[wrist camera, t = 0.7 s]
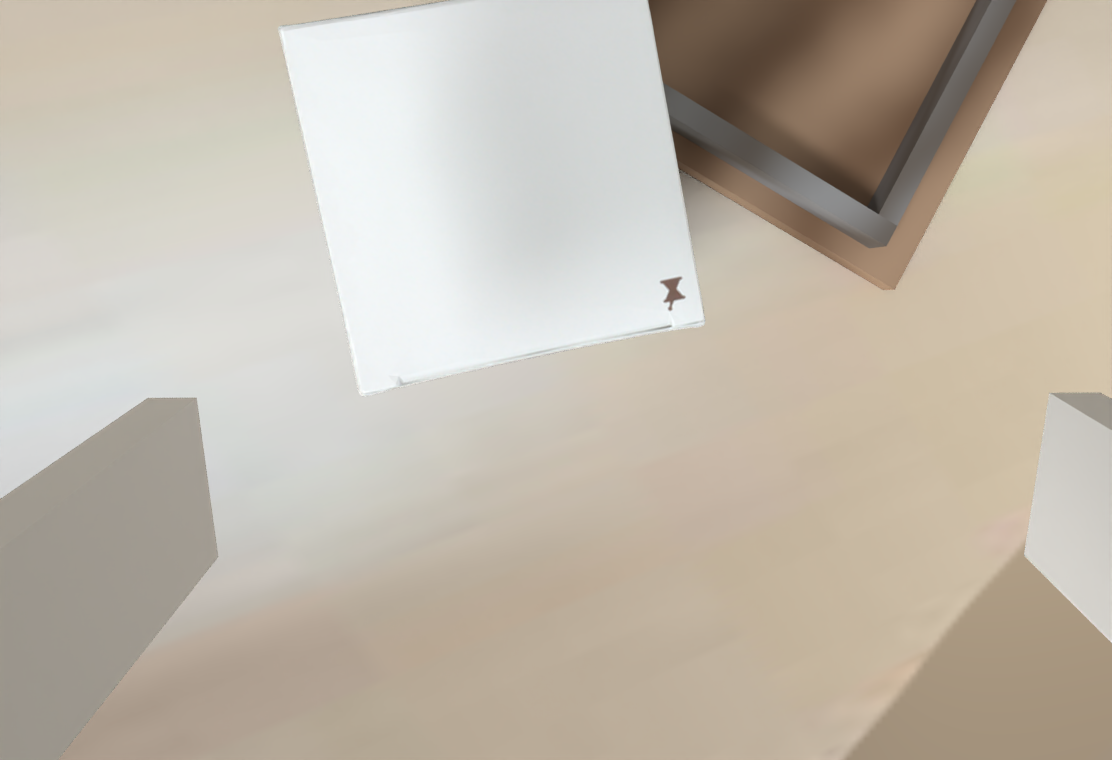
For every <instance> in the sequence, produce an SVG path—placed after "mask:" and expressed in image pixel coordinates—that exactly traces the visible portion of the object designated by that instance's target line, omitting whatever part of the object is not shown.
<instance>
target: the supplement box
mask: <svg viewBox="0 0 1112 760" xmlns="http://www.w3.org/2000/svg"><path fill="white" fill-rule="evenodd" d="M278 31H279V35H280V39H281V44H282V48H283V52H284V56H285V61H286V65H287V70H288V75H289V79H290V84H291V89H292V94H293V98H294V103H295V108H296V112H297V117H298V121H299V126H300V130H301V135H302V139H303V144H304V148H305V153H306V157H307V162H308V166H309V171H310V175H311V180H312V184H313V189H314V193H315V198H316V202H317V206H318V211H319V215H320V220H321V224H322V229H323V233H324V237H325V242H326V246H327V251H328V255H329V260H330V264H331V269H332V273H333V278H334V282H335V287H336V292H337V296H338V301H339V305H340V310H341V314H342V319H343V323H344V328H345V332H346V337H347V341H348V346H349V350H350V355H351V360H352V365H353V369H354V374H355V379H356V384H357V389H358V392H359V393H360V395H361V396H363V397H365V396H371V395H375V394H378V393H382V392H385V391H389V390H393V389H397V388H401V387H405V386H410V385H414V384H418V383H422V382H427V381H431V380H435V379H440V378H444V377H449V376H453V375H458V374H462V373H466V372H471V371H475V370H480V369H484V368H489V367H493V366H498V365H502V364H507V363H512V362H517V361H521V360H526V359H531V358H535V357H540V356H545V355H549V354H554V353H559V352H563V351H568V350H573V349H577V348H582V347H587V346H593V345H598V344H603V343H608V342H613V341H618V340H623V339H628V338H633V337H638V336H643V335H649V334H655V333H661V332H667V331H673V330H679V329H685V328H694V327H700V326H703V325H704V324H705V316H704V310H703V304H702V298H701V292H700V287H699V281H698V275H697V270H696V264H695V259H694V253H693V247H692V242H691V236H690V231H689V225H688V220H687V214H686V209H685V203H684V197H683V192H682V186H681V181H680V175H679V170H678V164H677V159H676V153H675V148H674V142H673V137H672V131H671V125H670V120H669V114H668V109H667V103H666V98H665V92H664V87H663V81H662V75H661V70H660V64H659V59H658V53H657V47H656V42H655V36H654V30H653V25H652V19H651V14H650V9H649V4H648V0H448V1H442V2H435V3H429V4H422V5H416V6H409V7H403V8H397V9H390V10H384V11H378V12H372V13H365V14H359V15H353V16H346V17H340V18H334V19H327V20H321V21H314V22H308V23H301V24H295V25H283V26H280V27H279V28H278Z"/></svg>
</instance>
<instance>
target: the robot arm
mask: <svg viewBox="0 0 1112 760" xmlns="http://www.w3.org/2000/svg"><path fill="white" fill-rule="evenodd" d="M1024 556H1025V557H1026V558H1027V559H1028V560H1029V561H1030V562H1031V563H1032V564H1033V565H1034V566H1035V567H1036V568H1037V569H1038V570H1039V571H1040V572H1041V573H1042V574H1043V575H1044V576H1045V577H1046V578H1047V579H1048V580H1049V581H1050V582H1051V583H1052V584H1053V585H1054V586H1055V587H1056V588H1057V589H1058V590H1059V591H1060V592H1061V593H1062V594H1063V595H1064V596H1065V597H1066V598H1067V599H1068V600H1069V601H1070V602H1071V603H1072V604H1073V605H1074V606H1075V607H1076V608H1077V609H1078V610H1079V611H1080V612H1081V613H1082V614H1083V615H1084V616H1085V617H1086V618H1087V619H1088V620H1089V621H1090V622H1091V623H1092V624H1093V625H1094V626H1095V627H1096V628H1097V629H1098V630H1100V632H1101V633H1102V634H1103V635H1104V636H1105V637H1106V638H1107V639H1108V640H1109V641H1110V642H1111V643H1112V399H1111V398H1109V397H1108V396H1106V395H1104V394H1102V393H1049V399H1048V405H1047V412H1046V418H1045V424H1044V431H1043V437H1042V444H1041V450H1040V456H1039V463H1038V469H1037V476H1036V482H1035V488H1034V495H1033V501H1032V508H1031V514H1030V520H1029V527H1028V533H1027V540H1026V546H1025V552H1024ZM217 558H218V552H217V545H216V537H215V530H214V523H213V515H212V508H211V501H210V493H209V486H208V479H207V471H206V464H205V456H204V449H203V442H202V434H201V427H200V420H199V412H198V405H197V398H147V399H146V400H144V401H143V402H141V403H140V404H138V405H137V406H135V407H134V408H133V409H131V410H130V411H128V412H127V413H125V414H124V415H122V416H121V417H119V418H118V419H117V420H115V421H114V422H112V423H111V424H109V425H108V426H106V427H105V428H103V429H102V430H100V431H99V432H98V433H96V434H95V435H93V436H92V437H90V438H89V439H87V440H86V441H84V442H83V443H81V444H80V445H79V446H77V447H76V448H74V449H73V450H71V451H70V452H68V453H67V454H65V455H64V456H62V457H61V458H60V459H58V460H57V461H55V462H54V463H52V464H51V465H49V466H48V467H46V468H45V469H44V470H42V471H41V472H39V473H38V474H36V475H35V476H33V477H32V478H30V479H29V480H27V481H26V482H25V483H23V484H22V485H20V486H19V487H17V488H16V489H14V490H13V491H11V492H10V493H8V494H7V495H6V496H4V497H3V498H1V499H0V760H58V759H59V758H60V757H61V756H62V754H63V753H64V752H65V750H66V749H67V748H68V747H69V745H70V744H71V743H72V742H73V740H74V739H75V738H76V736H77V735H78V734H79V733H80V731H81V730H82V729H83V728H84V726H85V725H86V724H87V723H88V721H89V720H90V719H91V717H92V716H93V715H94V714H95V712H96V711H97V710H98V709H99V707H100V706H101V705H102V704H103V702H104V701H105V700H106V698H107V697H108V696H109V695H110V693H111V692H112V691H113V690H114V688H115V687H116V686H117V685H118V683H119V682H120V681H121V679H122V678H123V677H124V676H125V674H126V673H127V672H128V671H129V669H130V668H131V667H132V666H133V664H134V663H135V662H136V660H137V659H138V658H139V657H140V655H141V654H142V653H143V652H144V650H145V649H146V648H147V647H148V645H149V644H150V643H151V641H152V640H153V639H154V638H155V636H156V635H157V634H158V633H159V631H160V630H161V629H162V627H163V626H164V625H165V624H166V622H167V621H168V620H169V619H170V617H171V616H172V615H173V614H174V612H175V611H176V610H177V608H178V607H179V606H180V605H181V603H182V602H183V601H184V600H185V598H186V597H187V596H188V595H189V593H190V592H191V591H192V589H193V588H194V587H195V586H196V584H197V583H198V582H199V581H200V579H201V578H202V577H203V576H204V574H205V573H206V572H207V570H208V569H209V568H210V567H211V565H212V564H213V563H214V562H215V560H216V559H217Z"/></svg>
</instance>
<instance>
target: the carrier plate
mask: <svg viewBox="0 0 1112 760" xmlns="http://www.w3.org/2000/svg"><path fill="white" fill-rule="evenodd" d="M1046 1H1047V0H648V4H649V9H650V14H651V19H652V25H653V30H654V36H655V42H656V47H657V53H658V59H659V64H660V70H661V75H662V81H663V87H664V92H665V98H666V103H667V109H668V114H669V120H670V125H671V131H672V137H673V142H674V148H675V153H676V159H677V164H678V168H679V169H680V170H682V171H684V172H685V173H687V174H689V175H690V176H692V177H694V178H696V179H697V180H699V181H701V182H702V183H704V184H706V185H707V186H709V187H711V188H712V189H714V190H716V191H717V192H719V193H721V194H722V195H724V196H726V197H728V198H729V199H731V200H733V201H734V202H736V203H738V204H739V205H741V206H743V207H744V208H746V209H748V210H749V211H751V212H753V213H755V214H756V215H758V216H760V217H761V218H763V219H765V220H766V221H768V222H770V223H771V224H773V225H775V226H776V227H778V228H780V229H782V230H783V231H785V232H787V233H788V234H790V235H792V236H793V237H795V238H797V239H798V240H800V241H802V242H803V243H805V244H807V245H808V246H810V247H812V248H814V249H815V250H817V251H819V252H820V253H822V254H824V255H825V256H827V257H829V258H830V259H832V260H834V261H835V262H837V263H839V264H841V265H842V266H844V267H846V268H847V269H849V270H851V271H852V272H854V273H856V274H857V275H859V276H861V277H862V278H864V279H866V280H867V281H869V282H871V283H873V284H874V285H876V286H878V287H879V288H881V289H883V290H892V289H895V288H896V286H897V284H898V282H899V280H900V278H901V276H902V274H903V273H904V271H905V269H906V267H907V265H908V263H909V261H910V259H911V257H912V255H913V254H914V252H915V250H916V248H917V246H918V244H919V242H920V240H921V238H922V237H923V235H924V233H925V231H926V229H927V227H928V225H929V223H930V221H931V219H932V218H933V216H934V214H935V212H936V210H937V208H938V206H939V204H940V202H941V200H942V199H943V197H944V195H945V193H946V191H947V189H948V187H949V185H950V183H951V182H952V180H953V178H954V176H955V174H956V172H957V170H958V168H959V166H960V164H961V163H962V161H963V159H964V157H965V155H966V153H967V151H968V149H969V147H970V146H971V144H972V142H973V140H974V138H975V136H976V134H977V132H978V130H979V128H980V127H981V125H982V123H983V121H984V119H985V117H986V115H987V113H988V111H989V110H990V108H991V106H992V104H993V102H994V100H995V98H996V96H997V94H998V92H999V91H1000V89H1001V87H1002V85H1003V83H1004V81H1005V79H1006V77H1007V75H1008V73H1009V72H1010V70H1011V68H1012V66H1013V64H1014V62H1015V60H1016V58H1017V56H1018V55H1019V53H1020V51H1021V49H1022V47H1023V45H1024V43H1025V41H1026V39H1027V37H1028V36H1029V34H1030V32H1031V30H1032V28H1033V26H1034V24H1035V22H1036V20H1037V19H1038V17H1039V15H1040V13H1041V11H1042V9H1043V7H1044V5H1045V3H1046Z"/></svg>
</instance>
